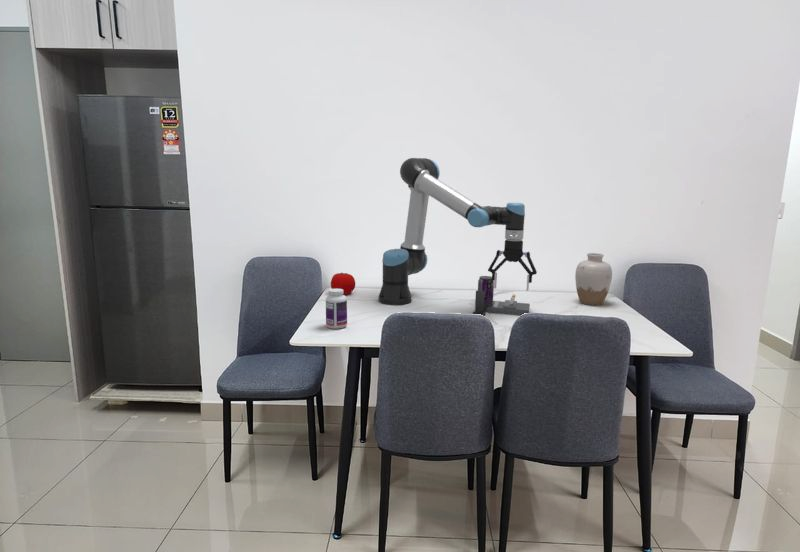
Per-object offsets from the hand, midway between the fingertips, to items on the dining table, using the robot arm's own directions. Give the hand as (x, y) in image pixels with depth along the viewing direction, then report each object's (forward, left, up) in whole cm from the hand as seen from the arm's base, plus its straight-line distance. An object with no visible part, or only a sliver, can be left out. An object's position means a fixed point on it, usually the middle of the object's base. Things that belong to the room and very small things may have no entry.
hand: (511, 289), depth 229 cm
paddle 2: (0, -2, -6) cm, 7 cm away
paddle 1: (0, +2, -6) cm, 7 cm away
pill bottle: (-62, -45, -10) cm, 77 cm away
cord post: (-12, -10, -10) cm, 18 cm away
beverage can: (-12, +11, -10) cm, 19 cm away
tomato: (-80, +7, -10) cm, 81 cm away
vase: (+35, +27, -10) cm, 45 cm away
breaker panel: (-3, 0, -10) cm, 10 cm away
